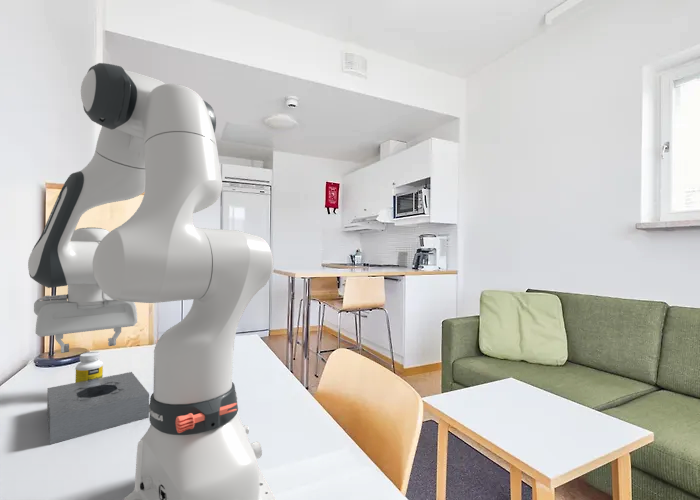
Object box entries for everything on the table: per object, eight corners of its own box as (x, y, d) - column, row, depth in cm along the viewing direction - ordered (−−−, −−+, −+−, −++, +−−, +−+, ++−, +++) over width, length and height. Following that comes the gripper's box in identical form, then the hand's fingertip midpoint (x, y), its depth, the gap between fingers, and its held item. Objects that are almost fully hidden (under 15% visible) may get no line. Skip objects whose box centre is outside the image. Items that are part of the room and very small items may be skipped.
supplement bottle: (87, 398, 84) (88, 357, 84) (69, 396, 85) (69, 356, 85) (107, 389, 89) (108, 351, 89) (90, 388, 90) (90, 350, 90)
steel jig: (148, 417, 74) (149, 393, 75) (50, 444, 64) (50, 417, 64) (131, 391, 88) (131, 371, 88) (47, 410, 77) (47, 388, 77)
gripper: (34, 298, 78) (33, 360, 78) (139, 291, 92) (138, 344, 92) (34, 294, 83) (33, 353, 83) (134, 289, 96) (133, 339, 96)
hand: (89, 348), depth 87 cm, fingers open, 8 cm apart
